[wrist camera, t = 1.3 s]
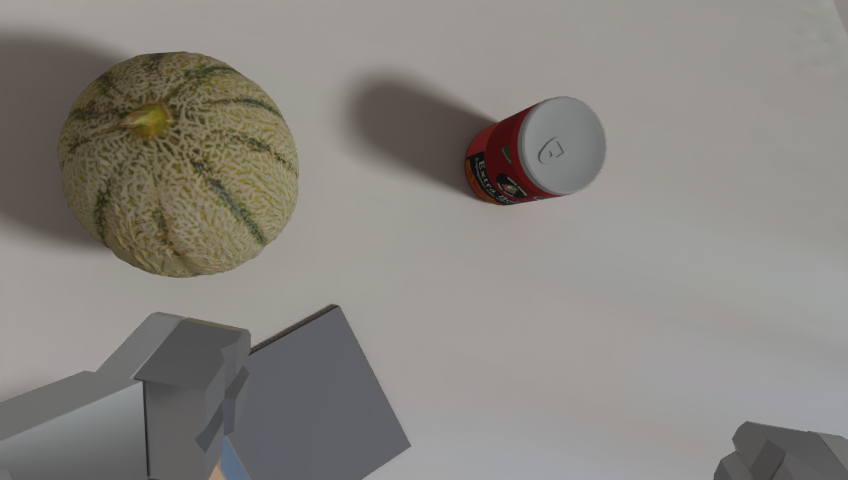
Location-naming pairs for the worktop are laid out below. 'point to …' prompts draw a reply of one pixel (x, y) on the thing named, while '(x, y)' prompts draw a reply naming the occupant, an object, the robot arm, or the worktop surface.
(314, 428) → the mat
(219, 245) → the cantaloupe
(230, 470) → the block
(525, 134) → the canned food
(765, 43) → the worktop surface
